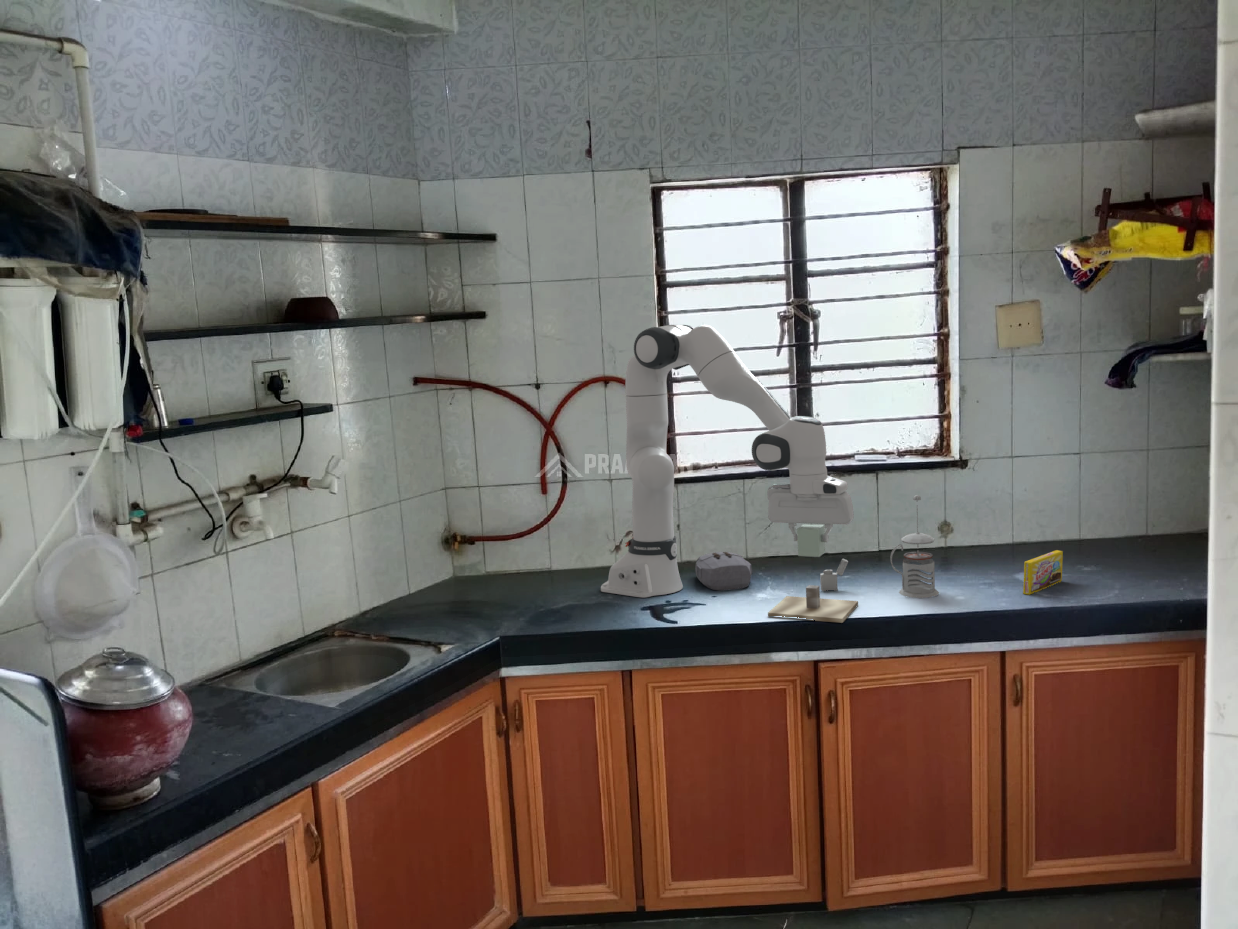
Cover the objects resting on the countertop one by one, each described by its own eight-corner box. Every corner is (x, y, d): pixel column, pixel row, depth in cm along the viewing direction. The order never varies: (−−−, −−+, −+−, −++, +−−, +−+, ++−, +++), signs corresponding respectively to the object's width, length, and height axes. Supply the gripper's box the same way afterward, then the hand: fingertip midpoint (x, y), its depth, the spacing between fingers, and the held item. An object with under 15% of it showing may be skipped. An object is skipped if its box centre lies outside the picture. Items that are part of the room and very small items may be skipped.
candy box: (1030, 596, 241) (1030, 562, 240) (1022, 594, 243) (1022, 561, 242) (1063, 582, 252) (1063, 550, 250) (1055, 580, 253) (1055, 549, 252)
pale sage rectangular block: (798, 555, 237) (796, 529, 236) (804, 550, 241) (803, 524, 240) (819, 556, 234) (818, 529, 233) (825, 551, 239) (824, 525, 238)
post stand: (768, 616, 237) (767, 592, 236) (786, 599, 250) (786, 576, 250) (842, 622, 229) (841, 597, 228) (858, 605, 242) (857, 581, 241)
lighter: (821, 591, 257) (820, 561, 255) (820, 589, 258) (819, 559, 257) (849, 589, 256) (848, 559, 255) (848, 588, 258) (847, 558, 257)
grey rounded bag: (759, 588, 264) (739, 570, 283) (757, 557, 263) (737, 542, 282) (703, 593, 262) (687, 576, 281) (702, 563, 260) (686, 547, 280)
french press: (941, 597, 244) (939, 498, 241) (892, 598, 246) (890, 499, 243) (937, 587, 253) (935, 491, 250) (890, 587, 256) (887, 492, 252)
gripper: (762, 486, 237) (765, 542, 239) (847, 487, 228) (849, 545, 230) (771, 481, 243) (773, 536, 245) (854, 482, 234) (856, 539, 235)
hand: (811, 541), depth 237 cm, fingers closed on pale sage rectangular block, 5 cm apart
